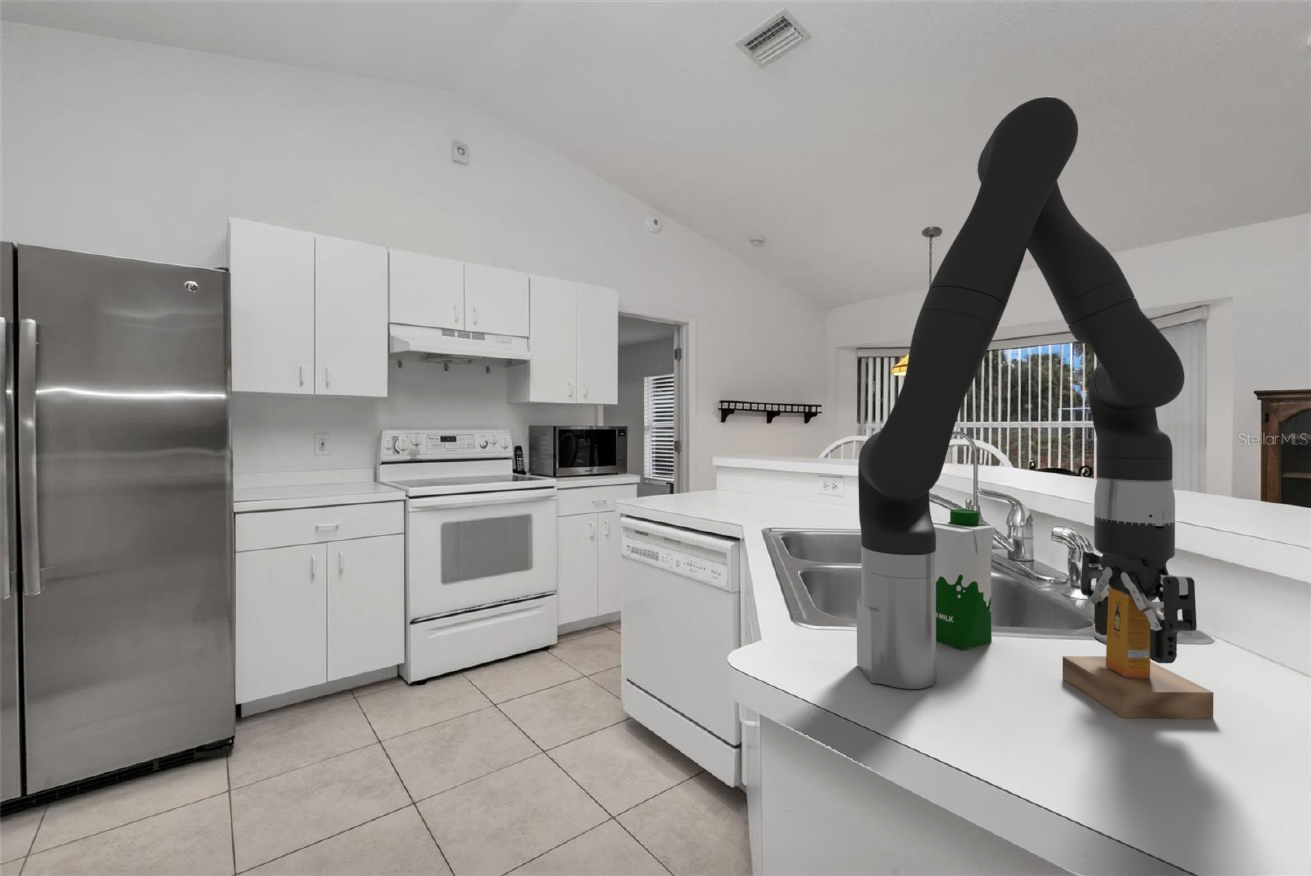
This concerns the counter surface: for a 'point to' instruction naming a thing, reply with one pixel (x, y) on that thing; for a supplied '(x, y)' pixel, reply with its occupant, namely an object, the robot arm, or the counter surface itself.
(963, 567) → the milk carton
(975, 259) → the robot arm
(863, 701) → the counter surface
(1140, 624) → the supplement box
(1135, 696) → the walnut plinth
